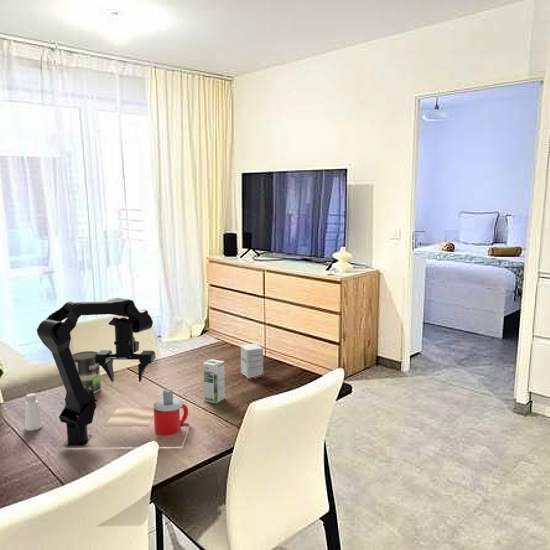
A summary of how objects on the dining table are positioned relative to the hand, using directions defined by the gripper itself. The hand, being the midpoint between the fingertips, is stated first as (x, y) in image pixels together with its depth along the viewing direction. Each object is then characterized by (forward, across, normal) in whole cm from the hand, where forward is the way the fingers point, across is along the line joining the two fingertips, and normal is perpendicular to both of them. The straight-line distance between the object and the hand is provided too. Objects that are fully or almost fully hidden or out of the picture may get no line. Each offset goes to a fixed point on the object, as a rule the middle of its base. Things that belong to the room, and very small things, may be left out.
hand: (126, 381), depth 160 cm
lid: (+5, -16, +8) cm, 19 cm away
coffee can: (+13, +23, -22) cm, 35 cm away
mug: (+13, -17, +8) cm, 23 cm away
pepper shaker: (+13, +28, +8) cm, 32 cm away
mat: (+12, -2, +1) cm, 13 cm away
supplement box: (+12, -39, -39) cm, 56 cm away
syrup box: (+13, -27, -14) cm, 33 cm away
